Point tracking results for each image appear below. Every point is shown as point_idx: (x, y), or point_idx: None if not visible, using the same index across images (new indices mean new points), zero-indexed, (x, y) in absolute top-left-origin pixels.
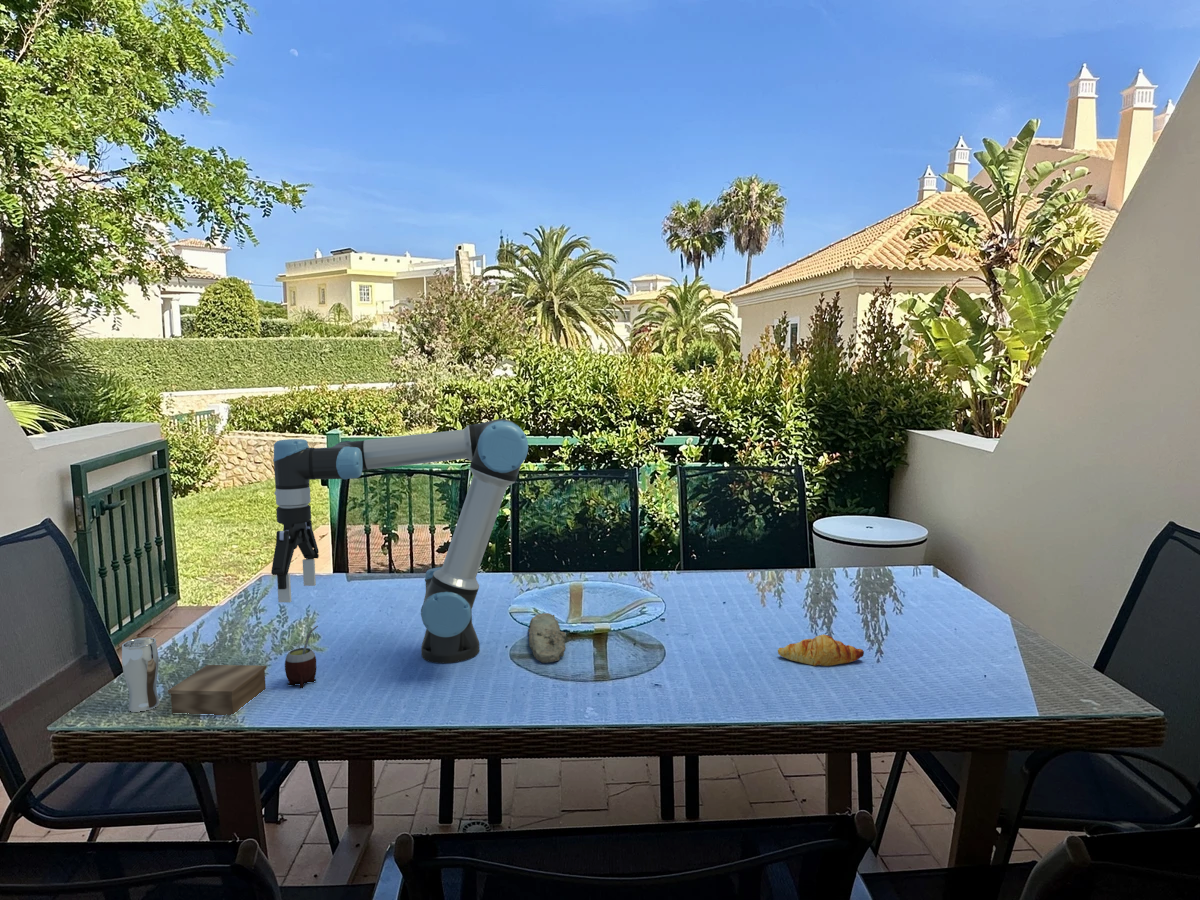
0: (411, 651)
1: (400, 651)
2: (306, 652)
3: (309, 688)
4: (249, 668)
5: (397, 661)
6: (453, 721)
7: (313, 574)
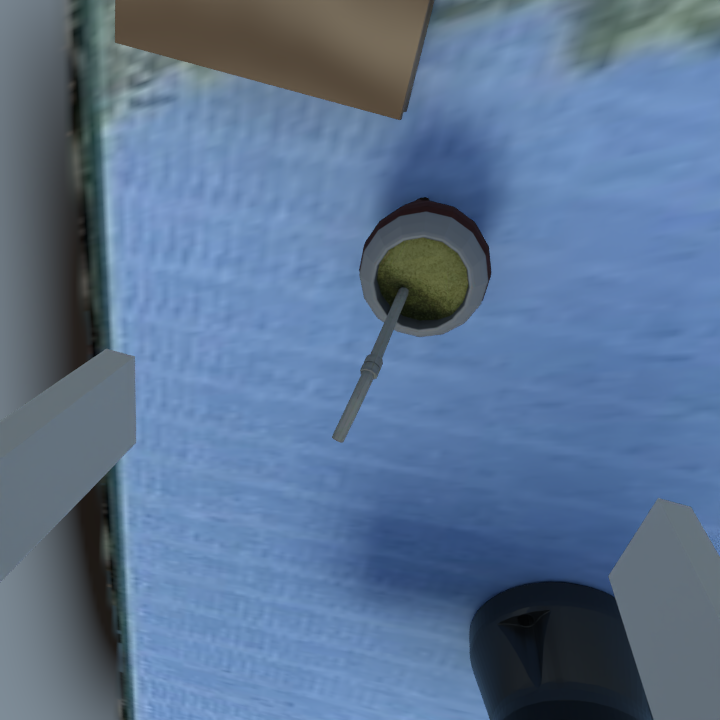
0: None
1: None
2: (441, 304)
3: None
4: (378, 35)
5: (540, 522)
6: (143, 588)
7: (644, 686)
